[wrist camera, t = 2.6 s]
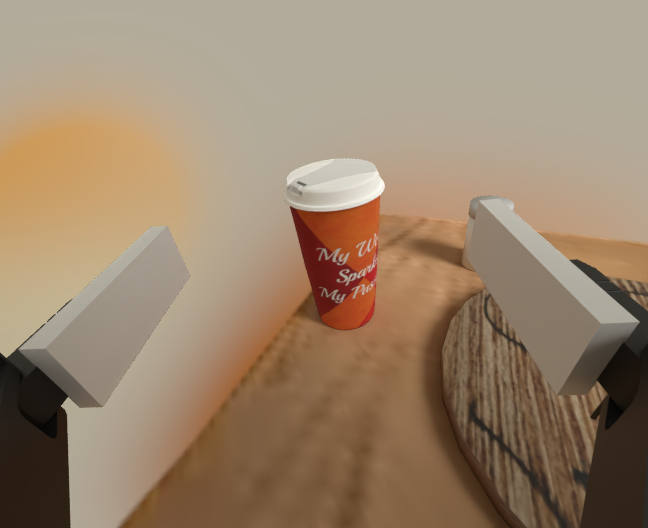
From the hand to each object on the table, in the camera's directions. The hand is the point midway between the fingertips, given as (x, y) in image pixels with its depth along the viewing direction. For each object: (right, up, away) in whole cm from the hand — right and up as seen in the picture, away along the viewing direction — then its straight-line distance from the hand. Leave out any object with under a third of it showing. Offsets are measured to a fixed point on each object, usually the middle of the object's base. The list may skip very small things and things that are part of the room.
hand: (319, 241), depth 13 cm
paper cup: (+2, -6, +17) cm, 18 cm away
